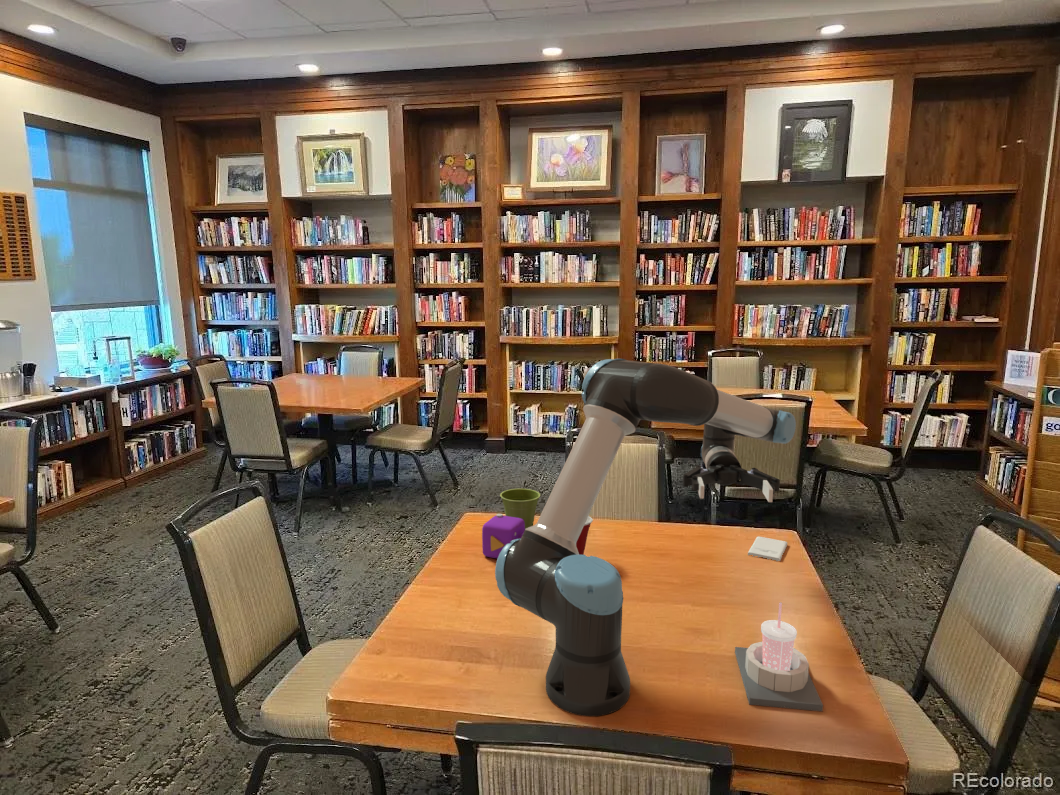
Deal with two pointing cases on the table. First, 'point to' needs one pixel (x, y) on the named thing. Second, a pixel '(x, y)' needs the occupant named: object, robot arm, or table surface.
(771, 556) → the external hard drive
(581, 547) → the plastic cup
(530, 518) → the plant pot
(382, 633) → the table surface
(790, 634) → the beverage cup
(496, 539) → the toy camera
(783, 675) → the cup holder
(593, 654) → the robot arm
